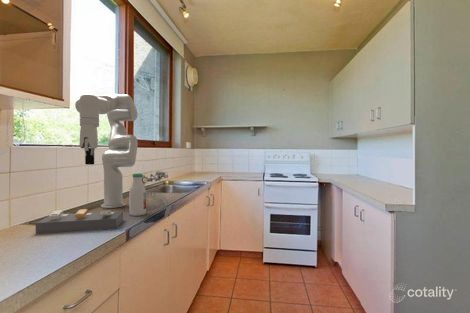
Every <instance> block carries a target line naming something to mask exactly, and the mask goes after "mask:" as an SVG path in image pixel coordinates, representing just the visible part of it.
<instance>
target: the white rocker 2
mask: <svg viewBox="0 0 470 313" xmlns="http://www.w3.org/2000/svg"><path fill="white" fill-rule="evenodd" d="M99 212H100V214H111V212H112V210H111V209H103V210H100V211H99Z"/></svg>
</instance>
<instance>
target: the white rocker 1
mask: <svg viewBox="0 0 470 313" xmlns="http://www.w3.org/2000/svg"><path fill="white" fill-rule="evenodd" d="M62 214H64V210H62V209H59V210H57V209H56V210H53V211H52V212H51V213H50V214H49V215H48V216H49V219H59V218H60V217H61V215H62Z"/></svg>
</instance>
